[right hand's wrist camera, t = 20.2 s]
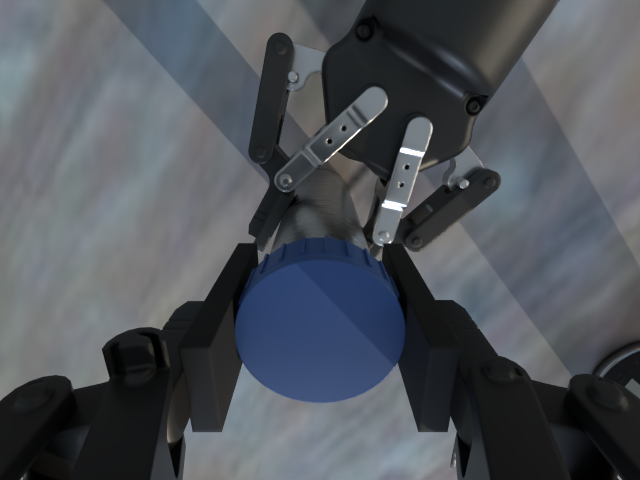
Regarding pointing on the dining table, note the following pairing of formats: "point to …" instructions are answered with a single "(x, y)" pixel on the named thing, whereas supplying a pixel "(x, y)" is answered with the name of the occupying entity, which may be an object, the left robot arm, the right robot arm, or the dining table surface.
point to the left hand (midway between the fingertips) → (298, 263)
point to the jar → (321, 212)
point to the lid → (320, 321)
